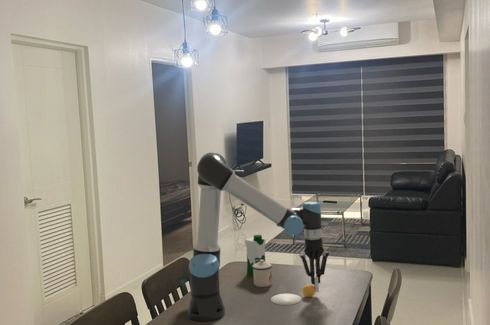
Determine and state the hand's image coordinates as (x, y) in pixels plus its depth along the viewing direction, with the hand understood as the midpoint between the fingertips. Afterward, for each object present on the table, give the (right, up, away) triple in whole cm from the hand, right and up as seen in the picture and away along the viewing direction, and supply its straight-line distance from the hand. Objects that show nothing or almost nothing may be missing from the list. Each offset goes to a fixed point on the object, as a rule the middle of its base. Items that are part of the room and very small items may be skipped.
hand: (316, 290), depth 219 cm
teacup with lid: (-23, -2, +21) cm, 31 cm away
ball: (-3, 0, -1) cm, 3 cm away
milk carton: (-25, -1, +34) cm, 42 cm away
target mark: (-13, -3, -2) cm, 14 cm away
